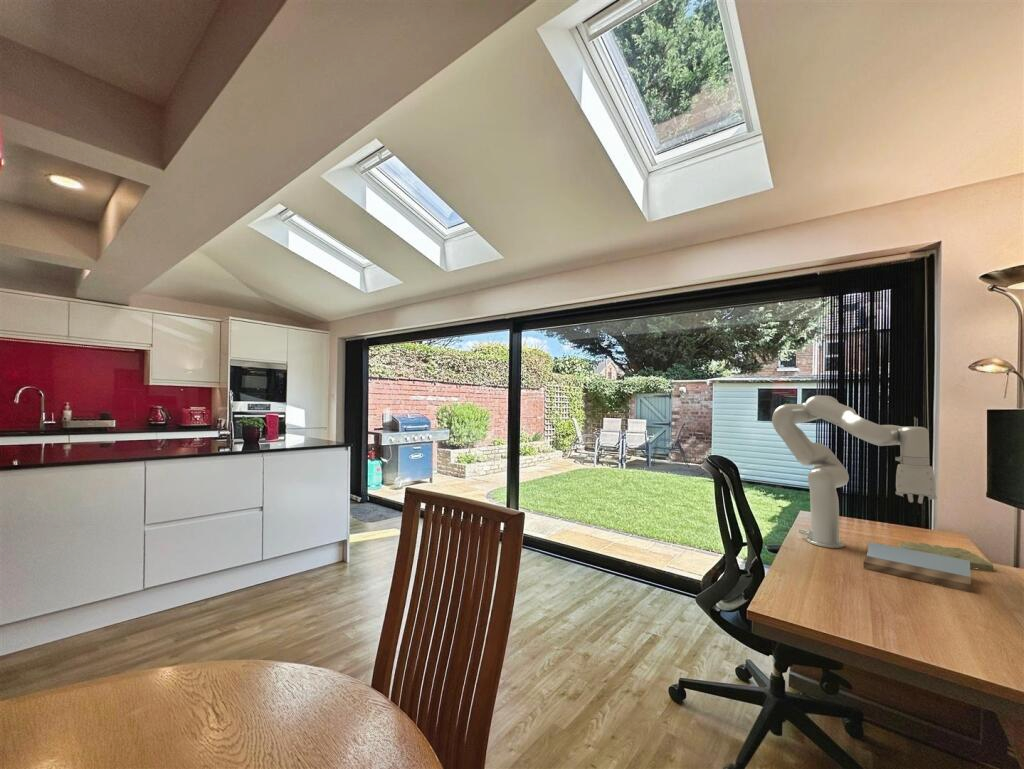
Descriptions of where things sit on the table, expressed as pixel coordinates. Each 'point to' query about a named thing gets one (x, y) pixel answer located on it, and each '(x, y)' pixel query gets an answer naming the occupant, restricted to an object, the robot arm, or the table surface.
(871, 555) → the grey-blue plank
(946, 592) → the table surface
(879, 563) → the walnut plank
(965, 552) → the decorative tile
